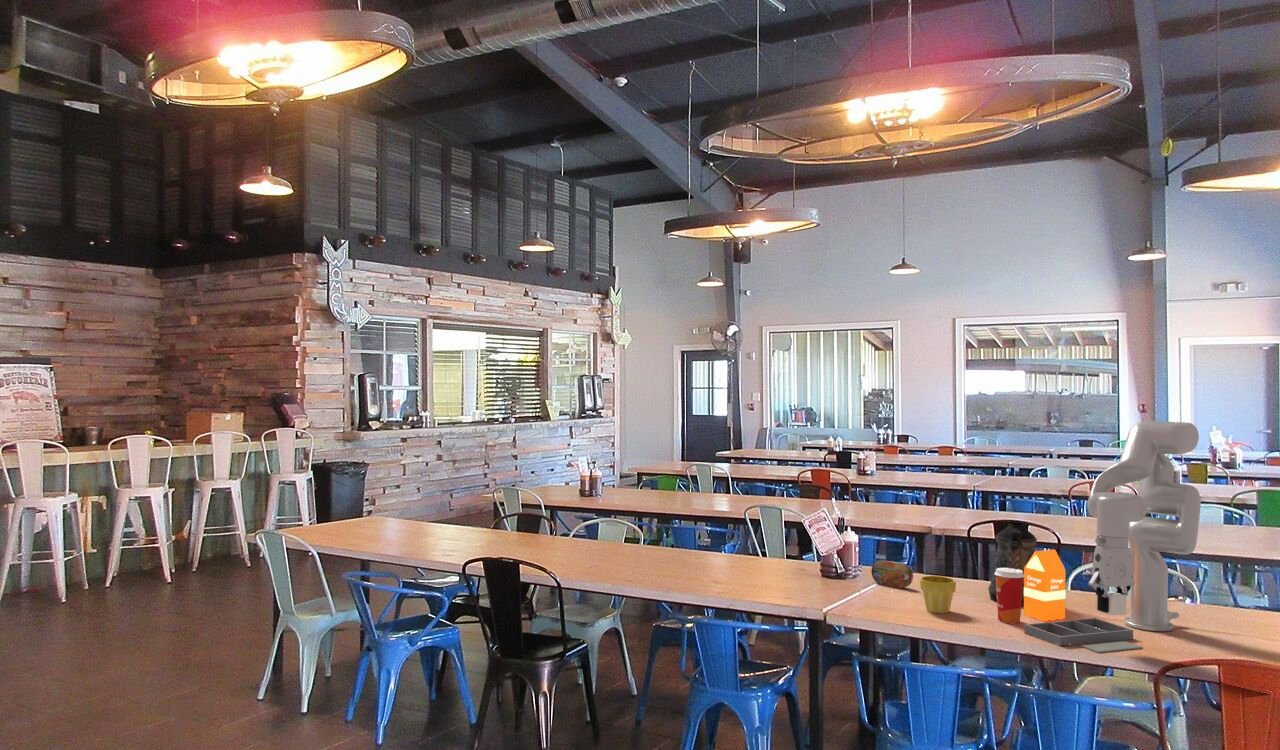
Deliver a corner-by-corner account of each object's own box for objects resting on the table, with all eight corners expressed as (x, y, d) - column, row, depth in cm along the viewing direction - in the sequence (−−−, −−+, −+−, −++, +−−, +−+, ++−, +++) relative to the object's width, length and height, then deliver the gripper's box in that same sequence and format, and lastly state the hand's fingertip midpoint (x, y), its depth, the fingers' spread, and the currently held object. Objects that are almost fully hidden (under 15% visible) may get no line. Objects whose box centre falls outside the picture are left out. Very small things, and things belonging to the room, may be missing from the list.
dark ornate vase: (1029, 594, 303) (1030, 519, 303) (1057, 609, 283) (1058, 529, 283) (980, 594, 302) (981, 519, 302) (1005, 609, 283) (1006, 528, 283)
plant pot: (925, 614, 274) (926, 582, 274) (915, 606, 284) (916, 575, 284) (960, 615, 274) (960, 583, 274) (948, 607, 284) (949, 575, 284)
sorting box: (1094, 626, 263) (1095, 618, 263) (1133, 639, 251) (1133, 630, 251) (1024, 633, 255) (1024, 624, 255) (1060, 646, 243) (1060, 637, 243)
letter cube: (1126, 614, 241) (1126, 595, 241) (1111, 615, 239) (1111, 596, 239) (1110, 609, 245) (1111, 591, 245) (1096, 610, 244) (1096, 591, 244)
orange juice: (1023, 615, 275) (1024, 549, 276) (1044, 612, 279) (1044, 547, 279) (1044, 621, 268) (1045, 553, 268) (1065, 618, 272) (1066, 551, 272)
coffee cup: (999, 615, 274) (999, 566, 274) (1027, 620, 269) (1028, 570, 269) (989, 621, 268) (990, 570, 268) (1018, 626, 262) (1019, 574, 262)
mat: (1123, 642, 248) (1123, 640, 248) (1142, 648, 242) (1142, 646, 242) (1080, 646, 243) (1080, 645, 243) (1098, 653, 237) (1098, 651, 237)
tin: (870, 582, 318) (871, 558, 318) (875, 581, 320) (876, 557, 320) (909, 590, 307) (909, 565, 307) (914, 589, 309) (914, 564, 309)
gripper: (1098, 545, 236) (1097, 616, 236) (1148, 543, 242) (1147, 612, 241) (1076, 541, 243) (1075, 609, 243) (1125, 539, 249) (1124, 605, 248)
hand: (1111, 610), depth 242 cm, fingers closed on letter cube, 5 cm apart
